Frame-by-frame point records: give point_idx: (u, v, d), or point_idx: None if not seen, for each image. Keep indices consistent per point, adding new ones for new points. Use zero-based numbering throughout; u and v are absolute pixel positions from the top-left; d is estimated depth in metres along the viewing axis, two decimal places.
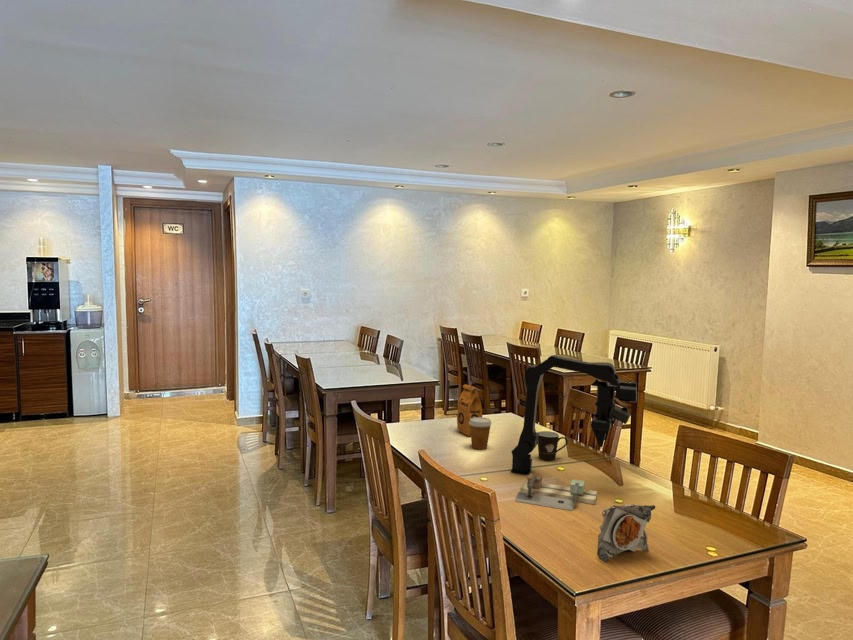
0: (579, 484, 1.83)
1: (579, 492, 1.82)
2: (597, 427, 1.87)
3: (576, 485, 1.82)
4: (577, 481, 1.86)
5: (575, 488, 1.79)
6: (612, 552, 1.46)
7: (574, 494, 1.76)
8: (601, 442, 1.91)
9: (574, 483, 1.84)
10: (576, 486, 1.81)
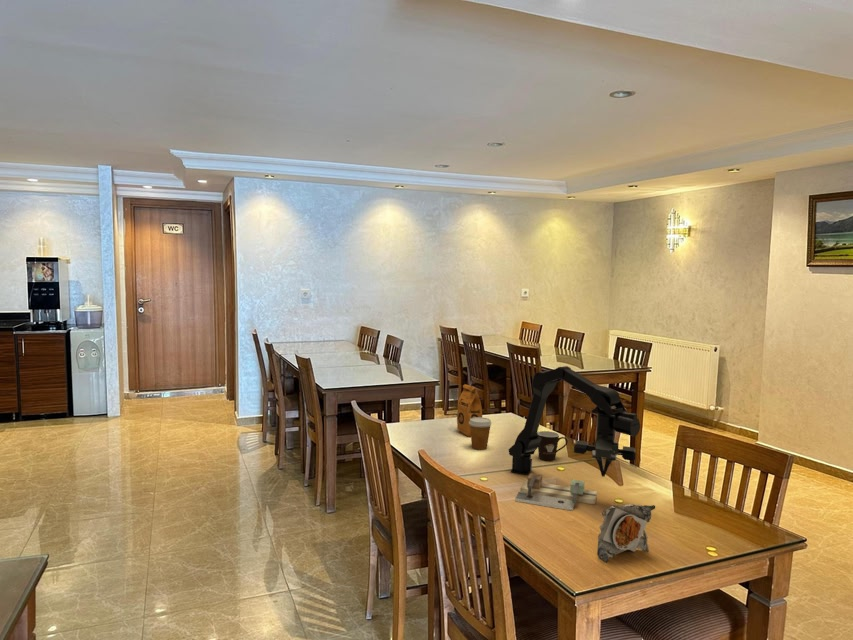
0: (579, 484, 1.83)
1: (579, 492, 1.82)
2: None
3: (576, 485, 1.82)
4: (577, 481, 1.86)
5: (575, 488, 1.79)
6: (612, 552, 1.46)
7: (574, 494, 1.76)
8: None
9: (574, 483, 1.84)
10: (576, 486, 1.81)
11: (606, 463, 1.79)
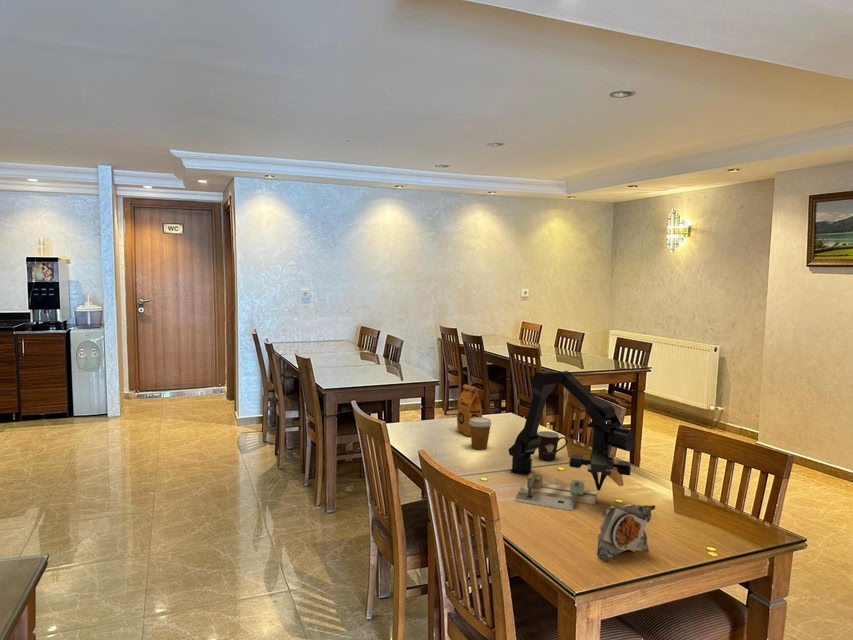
0: (579, 484, 1.83)
1: (579, 492, 1.82)
2: None
3: (576, 485, 1.82)
4: (577, 481, 1.86)
5: (575, 488, 1.79)
6: (612, 552, 1.46)
7: (574, 494, 1.76)
8: None
9: (574, 483, 1.84)
10: (576, 486, 1.81)
11: (601, 477, 1.80)
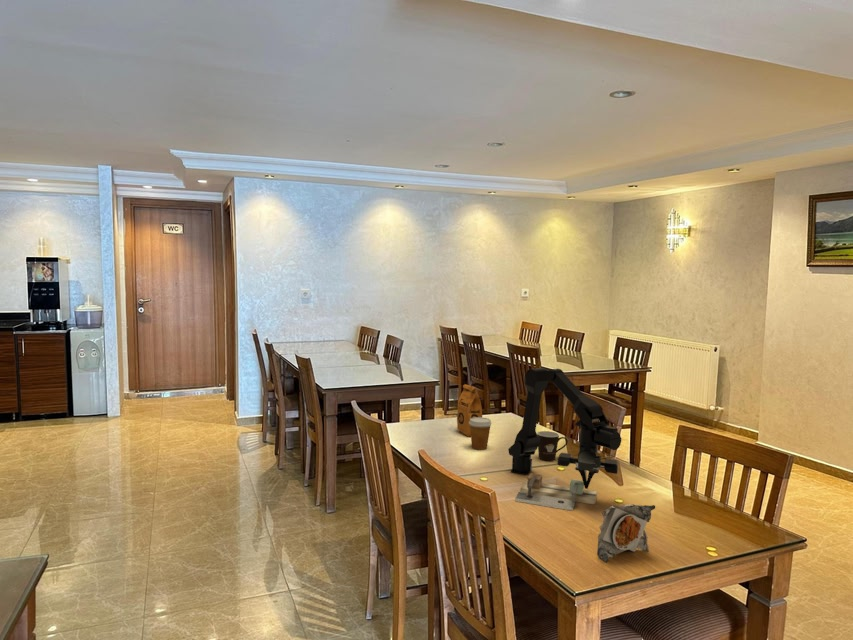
0: (578, 484, 1.83)
1: (578, 492, 1.82)
2: None
3: (575, 485, 1.82)
4: (576, 481, 1.86)
5: (574, 488, 1.79)
6: (612, 552, 1.46)
7: (573, 494, 1.76)
8: None
9: (573, 483, 1.84)
10: (575, 486, 1.81)
11: (589, 475, 1.82)
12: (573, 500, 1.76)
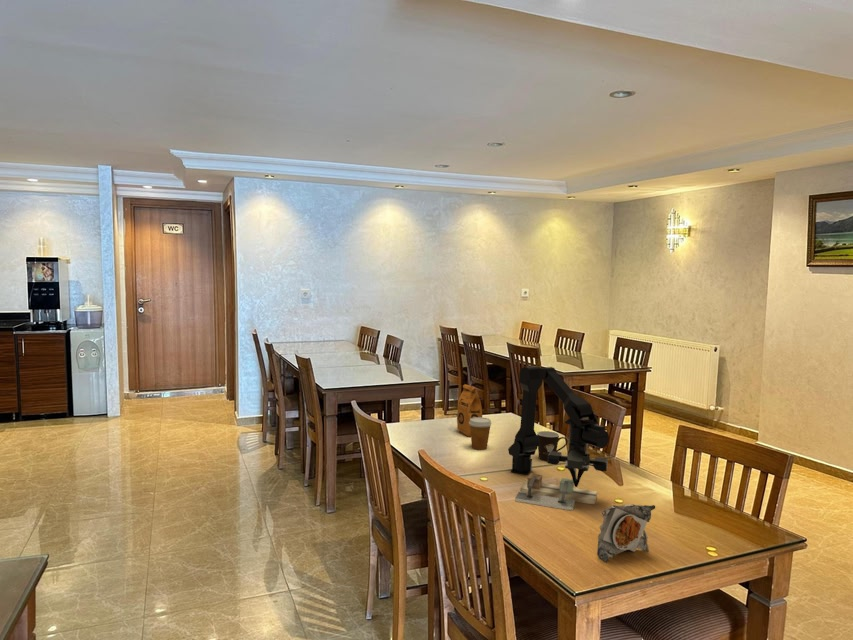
0: (568, 482, 1.84)
1: (568, 490, 1.83)
2: None
3: (565, 483, 1.83)
4: (566, 479, 1.87)
5: (564, 486, 1.80)
6: (612, 552, 1.46)
7: (563, 492, 1.77)
8: None
9: (563, 481, 1.85)
10: (565, 484, 1.82)
11: (579, 473, 1.83)
12: (563, 498, 1.77)
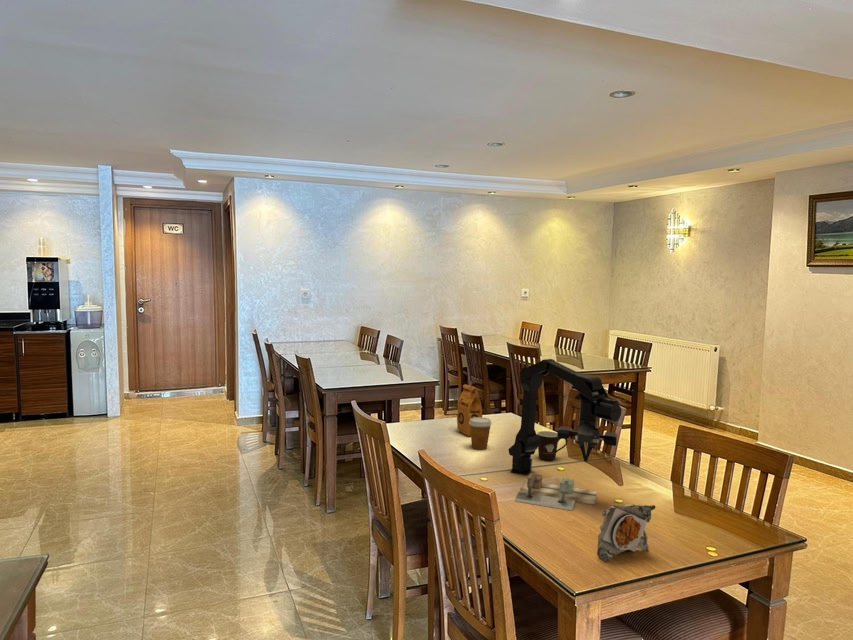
0: (568, 482, 1.84)
1: (568, 490, 1.83)
2: None
3: (565, 483, 1.83)
4: (566, 479, 1.87)
5: (564, 486, 1.80)
6: (612, 552, 1.46)
7: (563, 492, 1.77)
8: (583, 455, 1.85)
9: (563, 481, 1.85)
10: (565, 484, 1.82)
11: (588, 448, 1.83)
12: (563, 498, 1.77)
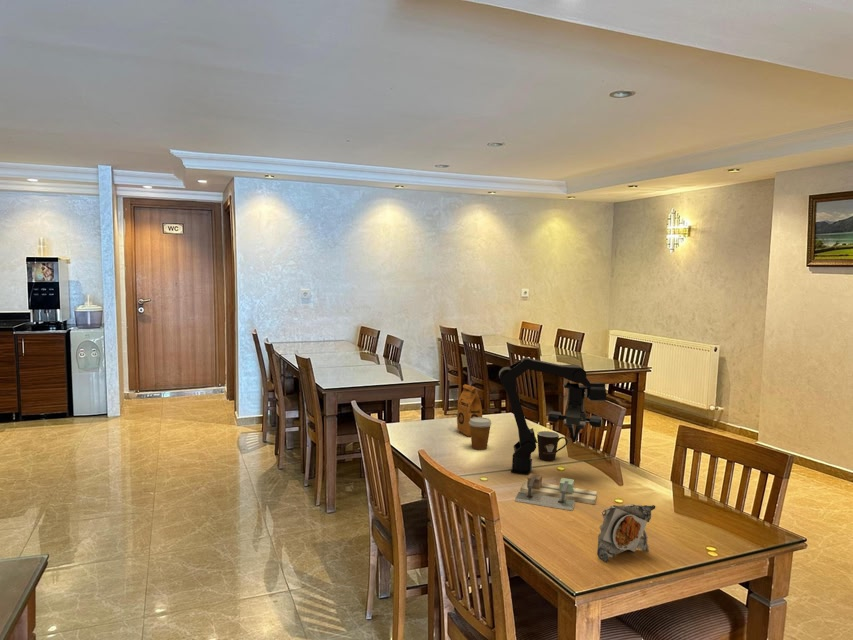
0: (568, 482, 1.84)
1: (568, 490, 1.83)
2: None
3: (565, 483, 1.83)
4: (566, 479, 1.87)
5: (564, 486, 1.80)
6: (612, 552, 1.46)
7: (563, 492, 1.77)
8: None
9: (563, 481, 1.85)
10: (565, 484, 1.82)
11: (576, 430, 2.04)
12: (563, 498, 1.77)
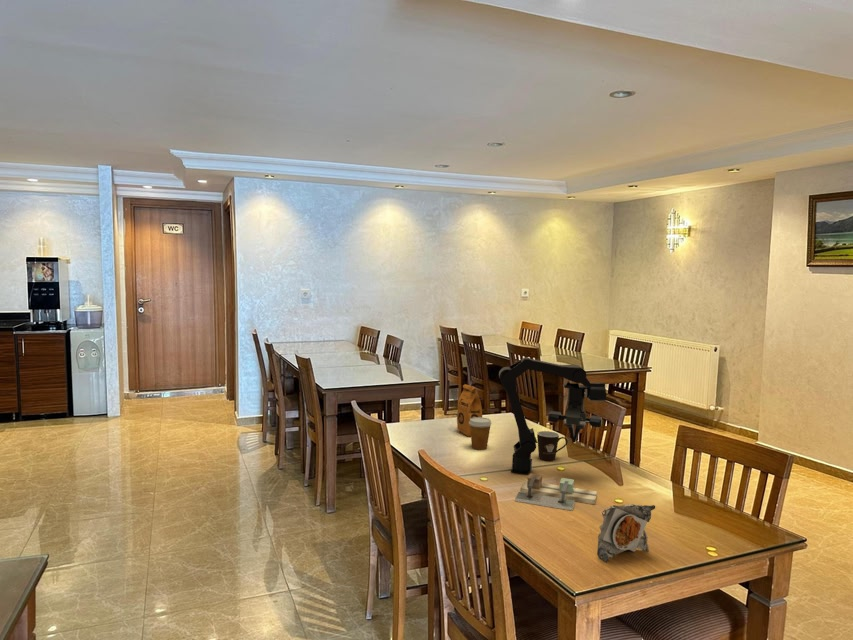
0: (568, 482, 1.84)
1: (568, 490, 1.83)
2: None
3: (565, 483, 1.83)
4: (566, 479, 1.87)
5: (564, 486, 1.80)
6: (612, 552, 1.46)
7: (563, 492, 1.77)
8: None
9: (563, 481, 1.85)
10: (565, 484, 1.82)
11: (576, 430, 2.04)
12: (563, 498, 1.77)
